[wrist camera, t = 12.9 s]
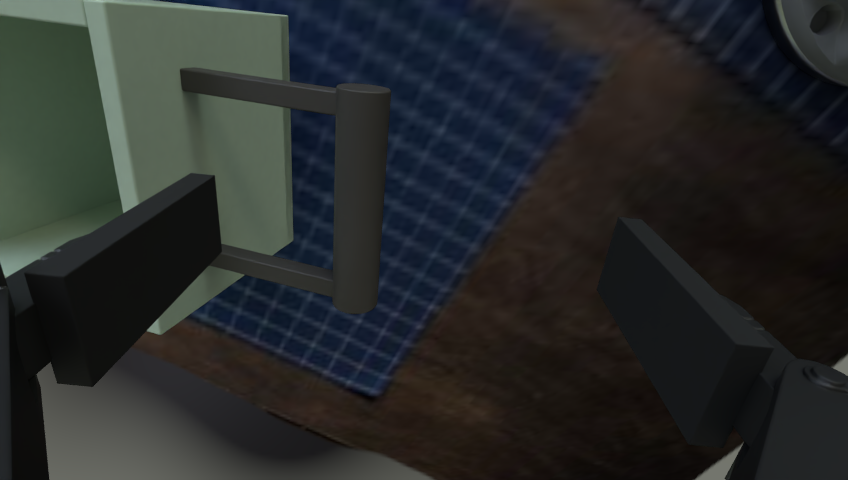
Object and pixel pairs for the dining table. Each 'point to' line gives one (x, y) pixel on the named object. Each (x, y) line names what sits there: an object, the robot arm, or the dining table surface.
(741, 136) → the dining table surface
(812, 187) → the dining table surface
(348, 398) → the dining table surface
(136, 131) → the pale green square box
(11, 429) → the robot arm
